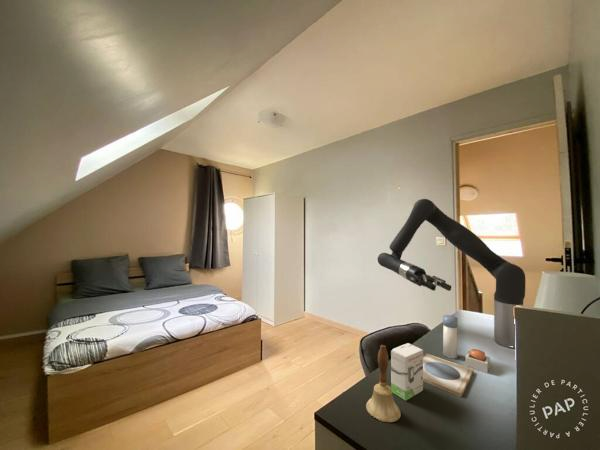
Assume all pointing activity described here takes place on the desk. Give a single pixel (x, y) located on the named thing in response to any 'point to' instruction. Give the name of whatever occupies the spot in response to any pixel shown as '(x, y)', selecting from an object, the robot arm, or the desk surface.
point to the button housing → (477, 363)
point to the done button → (477, 354)
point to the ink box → (406, 371)
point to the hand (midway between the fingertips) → (442, 288)
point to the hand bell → (383, 394)
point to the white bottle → (450, 336)
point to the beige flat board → (446, 374)
